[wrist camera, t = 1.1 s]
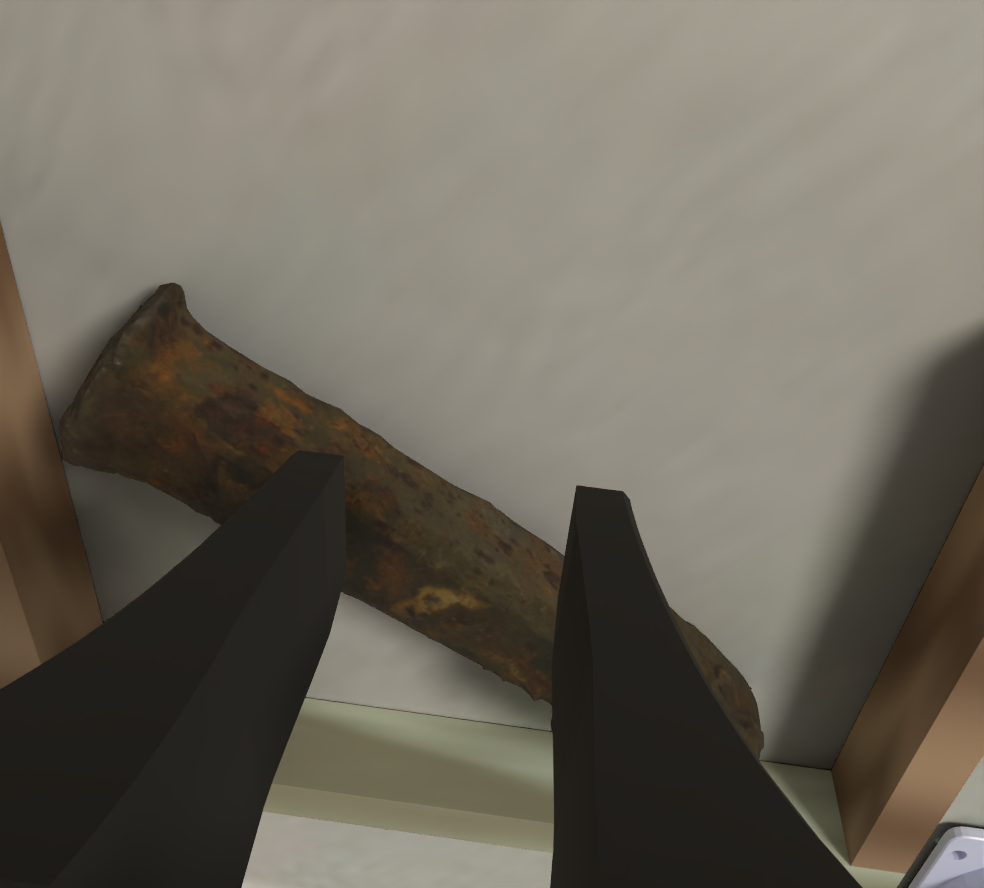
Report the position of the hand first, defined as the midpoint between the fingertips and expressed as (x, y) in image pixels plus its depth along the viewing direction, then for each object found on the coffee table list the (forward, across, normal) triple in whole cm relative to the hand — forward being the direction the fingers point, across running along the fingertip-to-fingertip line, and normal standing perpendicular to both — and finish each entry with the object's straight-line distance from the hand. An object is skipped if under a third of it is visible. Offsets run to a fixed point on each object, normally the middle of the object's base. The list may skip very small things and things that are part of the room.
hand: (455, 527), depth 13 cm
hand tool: (+9, 0, +7) cm, 11 cm away
